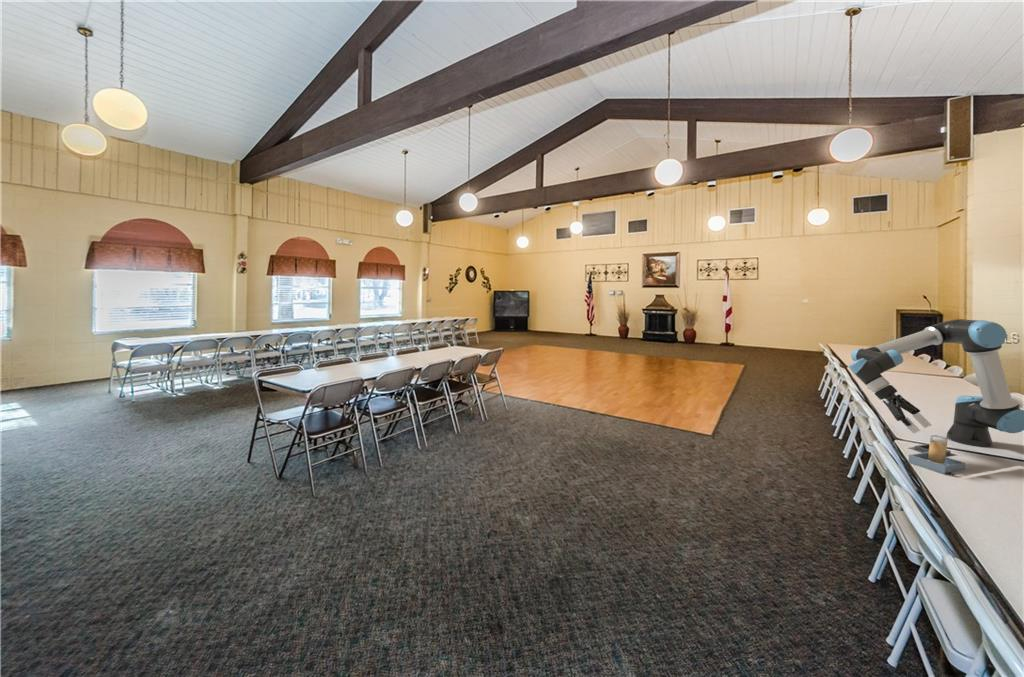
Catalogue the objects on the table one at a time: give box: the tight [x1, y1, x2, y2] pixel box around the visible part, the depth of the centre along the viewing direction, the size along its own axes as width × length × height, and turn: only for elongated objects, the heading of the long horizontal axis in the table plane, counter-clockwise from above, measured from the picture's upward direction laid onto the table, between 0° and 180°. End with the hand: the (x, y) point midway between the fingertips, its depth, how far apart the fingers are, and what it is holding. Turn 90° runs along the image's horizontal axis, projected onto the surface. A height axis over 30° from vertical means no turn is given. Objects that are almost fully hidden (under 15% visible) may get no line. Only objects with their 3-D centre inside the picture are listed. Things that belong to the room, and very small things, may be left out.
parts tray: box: [907, 452, 967, 476], centre depth 173 cm, size 12×12×4 cm
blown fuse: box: [928, 435, 949, 465], centre depth 172 cm, size 5×5×12 cm
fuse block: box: [907, 443, 957, 458], centre depth 187 cm, size 12×12×2 cm
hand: (922, 429), depth 176 cm, fingers open, 13 cm apart
